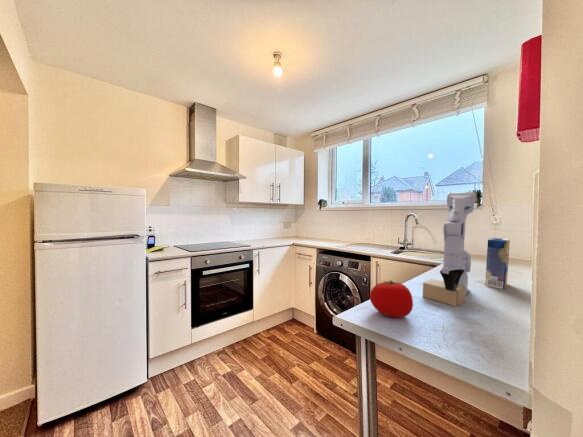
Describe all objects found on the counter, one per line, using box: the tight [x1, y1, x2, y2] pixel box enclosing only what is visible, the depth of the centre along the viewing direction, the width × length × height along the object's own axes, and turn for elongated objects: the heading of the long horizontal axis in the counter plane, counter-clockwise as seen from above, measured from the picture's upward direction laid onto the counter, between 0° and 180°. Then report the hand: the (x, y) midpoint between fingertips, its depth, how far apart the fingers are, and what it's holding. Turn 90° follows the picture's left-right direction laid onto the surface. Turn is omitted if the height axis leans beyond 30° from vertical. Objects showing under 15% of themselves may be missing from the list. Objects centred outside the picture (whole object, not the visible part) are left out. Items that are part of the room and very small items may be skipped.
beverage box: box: [484, 237, 511, 290], centre depth 115 cm, size 7×11×22 cm, turn 133°
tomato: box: [369, 279, 414, 318], centre depth 84 cm, size 12×14×12 cm
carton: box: [422, 278, 466, 307], centre depth 98 cm, size 8×13×6 cm, turn 38°
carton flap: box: [422, 282, 457, 307], centre depth 95 cm, size 1×12×8 cm, turn 39°
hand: (451, 288), depth 91 cm, fingers open, 4 cm apart
